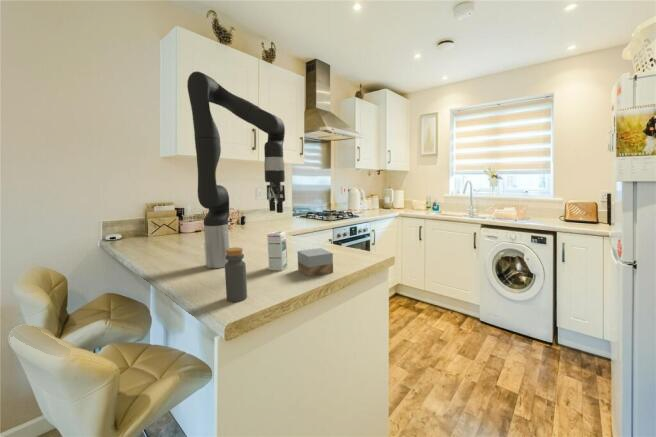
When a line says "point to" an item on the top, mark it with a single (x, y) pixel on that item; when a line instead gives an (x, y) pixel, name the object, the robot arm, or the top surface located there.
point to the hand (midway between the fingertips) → (276, 211)
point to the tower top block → (315, 257)
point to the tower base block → (315, 269)
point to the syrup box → (277, 251)
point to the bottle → (235, 275)
